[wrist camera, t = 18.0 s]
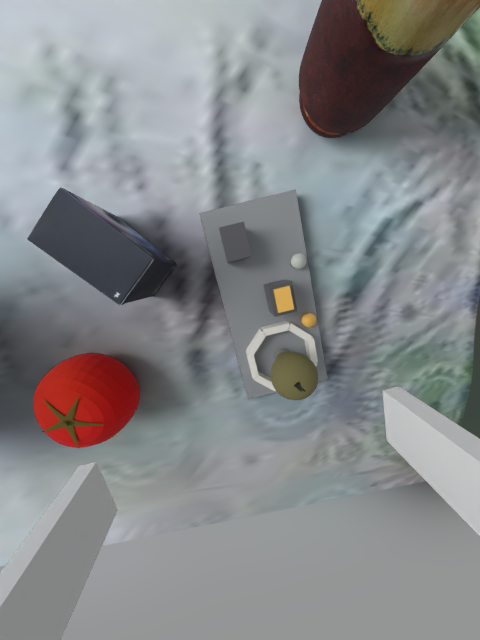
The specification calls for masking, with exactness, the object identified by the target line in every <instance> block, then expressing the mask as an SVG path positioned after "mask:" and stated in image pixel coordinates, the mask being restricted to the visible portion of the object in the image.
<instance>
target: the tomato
mask: <svg viewBox="0 0 480 640" xmlns="http://www.w3.org/2000/svg"><path fill="white" fill-rule="evenodd" d="M139 399H140V390H139V386H138V382H137V380H136V378H135V376H134V375H133V373H132V372H131V371H130V370H129V369H128V368H127V367H126V366H125V365H124V364H123V363H121V362H120V361H119V360H117V359H115V358H112V357H110V356H107V355H103V354H99V353H87V354H81V355H77V356H74V357H71V358H69V359H66V360H64V361H62V362H61V363H59V364H57V365H56V366H55V367H54V368H53V369H51V370H50V371H49V372H48V373H47V374H46V375H45V376H44V377H43V378H42V380H41V381H40V382H39V384H38V386H37V388H36V391H35V393H34V413H35V417H36V419H37V421H38V423H39V425H40V426H41V428H42V429H43V430H44V431H43V432H45V433H46V434H47V435H48V436H49V437H51V438H52V439H53V440H55V441H56V442H58V443H60V444H63V445H65V446H69V447H76V448H81V447H88V446H91V445H95V444H99V443H101V442H104V441H106V440H108V439H110V438H111V437H113V436H114V435H115V434H116V433H118V432H119V431H120V430H121V429H122V428H124V426H125V425H126V424H127V423H128V422H129V420H130V419H131V418H132V416H133V415H134V413H135V411H136V409H137V406H138V403H139Z"/></svg>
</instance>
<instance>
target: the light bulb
mask: <svg viewBox="0 0 480 640" xmlns="http://www.w3.org/2000/svg"><path fill="white" fill-rule="evenodd" d="M274 360H275V361H274V363H273V365H272V367H271V372H270V377H271V382H272V385H273V387H274V388H275V390H276V391H277V392H278V393H279V394H280V395H282V396H283V397H285V398H287V399H291V400H301V399H304V398H306V397H308V396H310V395H311V394H312V393H313V392H314V390H315V388H316V386H317V383H318V372H317V369H316V367H315V365H314V363H313V362H312V361H311V360H310V359H309V358H308V357H307V356H305V355H303V354H301V353H298V352H289V351H288V350H287V349H285V348H280V349H277V350H276V351H275V352H274Z"/></svg>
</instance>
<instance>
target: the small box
mask: <svg viewBox="0 0 480 640" xmlns="http://www.w3.org/2000/svg"><path fill="white" fill-rule="evenodd" d="M27 239H28V240H29V241H30V242H32V243H33V244H34V245H36V246H37V247H39V248H40V249H41V250H43V251H44V252H46V253H47V254H48V255H50V256H51V257H53V258H54V259H55V260H57V261H58V262H60V263H61V264H62V265H64V266H65V267H67V268H68V269H69V270H71V271H72V272H74V273H75V274H76V275H78V276H79V277H81V278H82V279H83V280H85V281H86V282H88V283H89V284H90V285H92V286H93V287H95V288H96V289H98V290H99V291H100V292H102V293H103V294H105V295H106V296H107V297H109V298H110V299H112V300H113V301H115V302H116V303H117V304H119V305H123V304H125V303H128V302H132V301H135V300H139V299H143V298H147V297H152V296H155V294H156V293H157V291H158V290H159V289H160V287H161V285H162V284H163V283H164V281H165V280H166V279H167V277H168V276H169V275H170V274H171V273H172V271H173V269H174V268H175V266H176V263H175V262H173V261H172V260H171V259H170V258H168V257H167V256H166V255H165V254H164V253H162V252H161V251H160V250H159V249H157V248H156V247H155V246H154V245H152V244H151V243H150V242H149V241H147V240H146V239H145V238H144V237H142V236H141V235H140V234H139V233H137V232H136V231H135V230H133V229H132V228H131V227H130V226H128V225H127V224H126V223H124V222H123V221H122V220H120V219H119V218H118V217H116V216H115V215H113V214H111V213H109V212H107V211H105V210H103V209H101V208H100V207H97V206H96V205H94V204H92V203H90V202H88V201H86V200H84V199H82V198H80V197H78V196H76V195H74V194H73V193H71V192H69V191H67V190H65V189H63V188H59V190H58V191H57V192H56V194H55V195H54V197H53V199H52V200H51V201H50V203H49V205H48V206H47V208H46V210H45V211H44V213H43V214H42V216H41V218H40V219H39V221H38V222H37V224H36V225H35V227H34V229H33V230H32V232H31V234H30V235H29V237H28V238H27Z"/></svg>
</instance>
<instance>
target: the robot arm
mask: <svg viewBox="0 0 480 640" xmlns="http://www.w3.org/2000/svg"><path fill="white" fill-rule="evenodd" d="M383 400H384V412H385V425H386V437H387V441H388V442H389V443H390V444H391V445H392V446H393V447H394V448H395V450H396V451H397V452H398V453H399V454H400V455H401V456H402V457H403V458H404V459H405V460H406V461H407V462H408V463H409V464H410V465H411V466H412V467H413V468H414V469H415V470H416V471H417V472H418V473H419V474H420V475H421V476H422V477H423V478H424V479H425V480H426V481H427V482H428V483H429V484H430V485H431V486H432V487H433V488H434V489H435V491H436V492H437V493H438V494H439V495H440V496H441V497H442V498H443V499H444V500H445V501H446V502H447V503H448V504H449V505H450V506H451V507H452V508H453V509H454V510H455V511H456V512H457V513H458V514H459V515H460V516H461V517H462V518H463V519H464V520H465V521H466V522H467V523H468V524H469V525H470V526H471V527H472V529H473V530H475V532H476V533H477V534H478V535H480V439H479V438H477V437H476V436H474V435H473V434H471V433H470V432H468V431H466V430H465V429H463V428H462V427H460V426H459V425H457V424H456V423H454V422H453V421H451V420H450V419H448V418H447V417H445V416H444V415H442V414H440V413H439V412H437V411H436V410H434V409H433V408H431V407H430V406H428V405H427V404H425V403H424V402H422V401H420V400H419V399H417V398H416V397H414V396H413V395H411V394H410V393H408V392H407V391H405V390H404V389H402V388H400V387H399V386H398V387H394V388H390V389H386V390H383ZM117 510H118V509H117V507H116V504H115V502H114V500H113V498H112V496H111V493H110V491H109V489H108V487H107V484H106V482H105V480H104V478H103V476H102V473H101V471H100V469H99V467H98V465H97V462H94V463H90V464H86V465H82V466H79V467H78V468H77V469H76V471H75V472H74V473H73V475H72V476H71V478H70V479H69V480H68V482H67V483H66V484H65V486H64V487H63V488H62V490H61V491H60V493H59V494H58V495H57V497H56V498H55V499H54V501H53V502H52V503H51V505H50V506H49V507H48V509H47V510H46V512H45V513H44V514H43V516H42V517H41V518H40V520H39V521H38V522H37V524H36V525H35V526H34V528H33V529H32V531H31V532H30V533H29V535H28V536H27V537H26V539H25V540H24V541H23V543H22V544H21V545H20V547H19V548H18V550H17V551H16V552H15V554H14V555H13V556H12V558H11V559H10V560H9V562H8V563H7V565H6V566H5V567H4V569H3V570H2V571H1V573H0V640H61V638H62V636H63V633H64V631H65V629H66V627H67V624H68V622H69V620H70V617H71V615H72V613H73V611H74V608H75V606H76V604H77V601H78V599H79V597H80V595H81V592H82V590H83V588H84V586H85V583H86V581H87V578H88V576H89V574H90V572H91V569H92V567H93V565H94V563H95V560H96V558H97V556H98V553H99V551H100V549H101V547H102V544H103V542H104V540H105V538H106V535H107V533H108V531H109V528H110V526H111V524H112V522H113V519H114V517H115V515H116V513H117Z"/></svg>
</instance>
